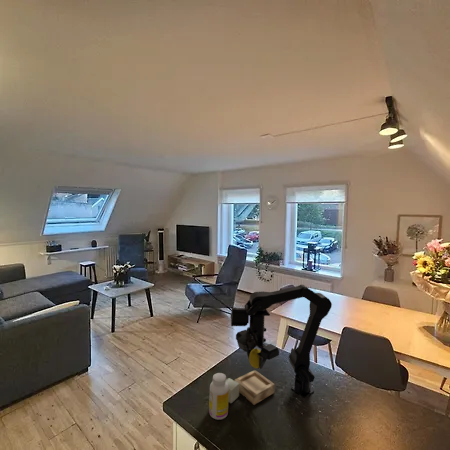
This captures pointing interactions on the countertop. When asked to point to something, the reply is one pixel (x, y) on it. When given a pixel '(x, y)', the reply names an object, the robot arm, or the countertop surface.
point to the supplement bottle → (218, 397)
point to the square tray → (255, 386)
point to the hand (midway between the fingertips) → (255, 364)
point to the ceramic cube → (232, 390)
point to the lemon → (254, 358)
